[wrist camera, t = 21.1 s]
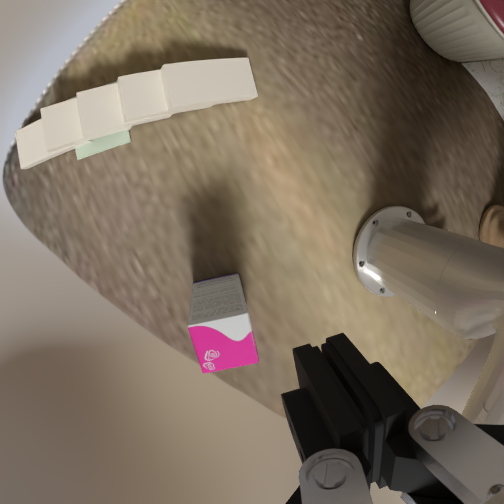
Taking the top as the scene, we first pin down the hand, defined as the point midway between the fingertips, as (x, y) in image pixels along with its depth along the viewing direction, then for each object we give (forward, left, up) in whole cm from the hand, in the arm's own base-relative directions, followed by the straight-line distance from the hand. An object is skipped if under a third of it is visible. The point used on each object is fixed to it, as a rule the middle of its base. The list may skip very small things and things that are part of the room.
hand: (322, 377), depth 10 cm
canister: (-38, -25, -29) cm, 54 cm away
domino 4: (-5, -17, -28) cm, 34 cm away
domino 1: (+9, -17, -28) cm, 34 cm away
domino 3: (0, -17, -28) cm, 33 cm away
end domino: (+14, -17, -28) cm, 36 cm away
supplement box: (+4, +8, -29) cm, 31 cm away
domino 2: (+4, -17, -28) cm, 33 cm away
